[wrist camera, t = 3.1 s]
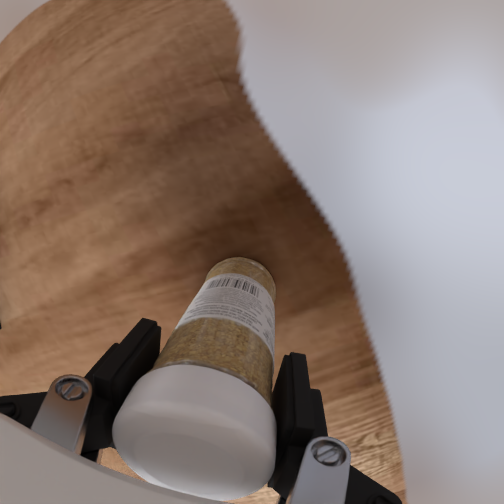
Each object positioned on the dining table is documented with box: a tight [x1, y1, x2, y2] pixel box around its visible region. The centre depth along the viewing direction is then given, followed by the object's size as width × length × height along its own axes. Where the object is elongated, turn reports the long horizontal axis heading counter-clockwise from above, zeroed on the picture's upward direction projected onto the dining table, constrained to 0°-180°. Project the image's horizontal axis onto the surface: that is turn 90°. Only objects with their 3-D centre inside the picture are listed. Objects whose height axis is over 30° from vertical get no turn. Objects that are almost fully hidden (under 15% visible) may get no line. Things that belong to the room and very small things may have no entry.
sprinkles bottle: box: [112, 257, 277, 501], centre depth 13 cm, size 5×5×13 cm
